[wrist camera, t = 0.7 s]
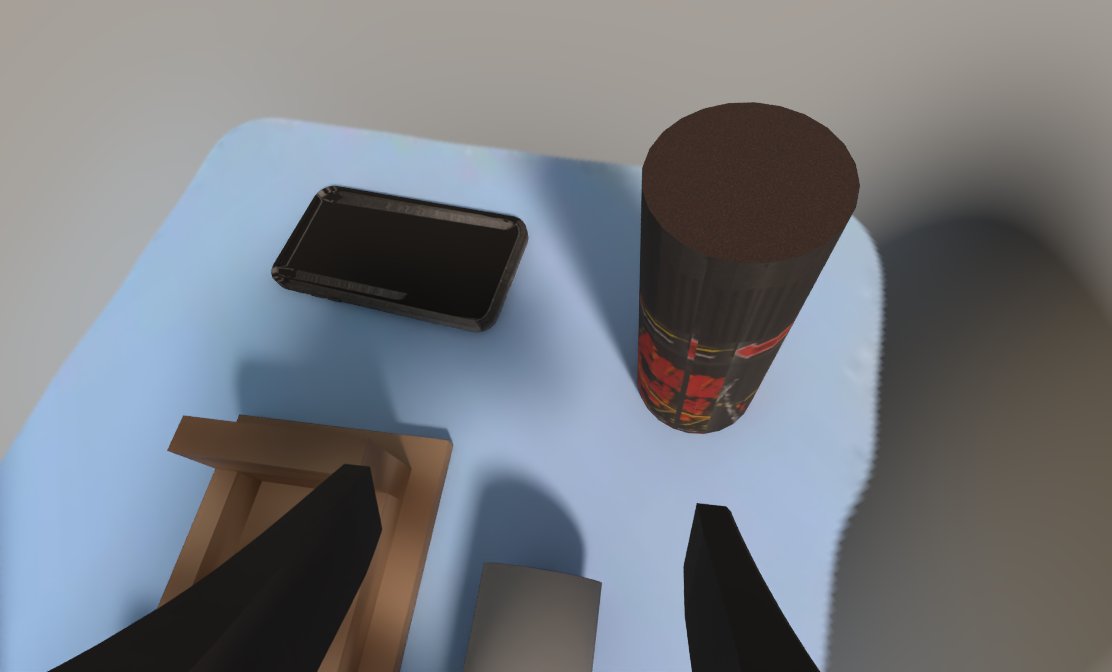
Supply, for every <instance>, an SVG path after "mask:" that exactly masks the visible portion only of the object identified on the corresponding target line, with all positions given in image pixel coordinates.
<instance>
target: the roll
mask: <svg viewBox="0 0 1112 672" xmlns="http://www.w3.org/2000/svg"><path fill="white" fill-rule="evenodd" d="M601 586H602V582H599V581H596V580H592V579H588V578H584V577H579V576H575V575H570V574H565V573H559V572H554V571H548V570H542V569H536V568H530V567H523V566H517V565H509V564H501V563H490V562H485V563H484V566H483V571H482V577H481V582H480V587H479V592H478V597H477V602H476V607H475V612H474V617H473V622H472V628H471V633H470V638H469V643H468V648H467V653H466V658H465V663H464V668H463V672H592V668H593V659H594V650H595V641H596V632H597V623H598V613H599V604H600V595H601Z"/></svg>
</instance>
